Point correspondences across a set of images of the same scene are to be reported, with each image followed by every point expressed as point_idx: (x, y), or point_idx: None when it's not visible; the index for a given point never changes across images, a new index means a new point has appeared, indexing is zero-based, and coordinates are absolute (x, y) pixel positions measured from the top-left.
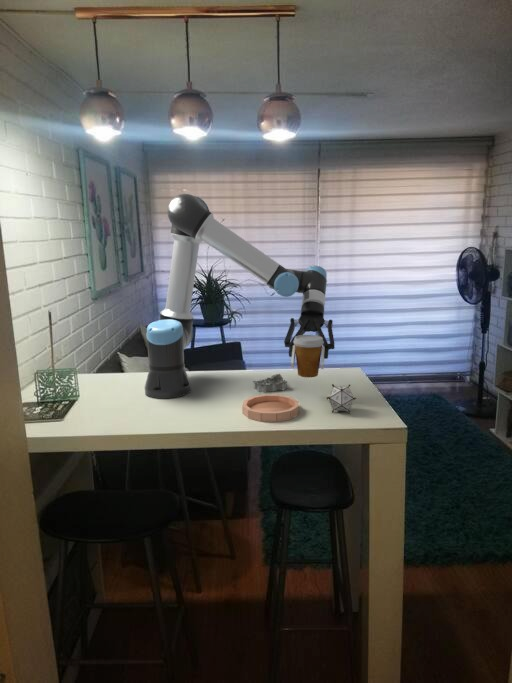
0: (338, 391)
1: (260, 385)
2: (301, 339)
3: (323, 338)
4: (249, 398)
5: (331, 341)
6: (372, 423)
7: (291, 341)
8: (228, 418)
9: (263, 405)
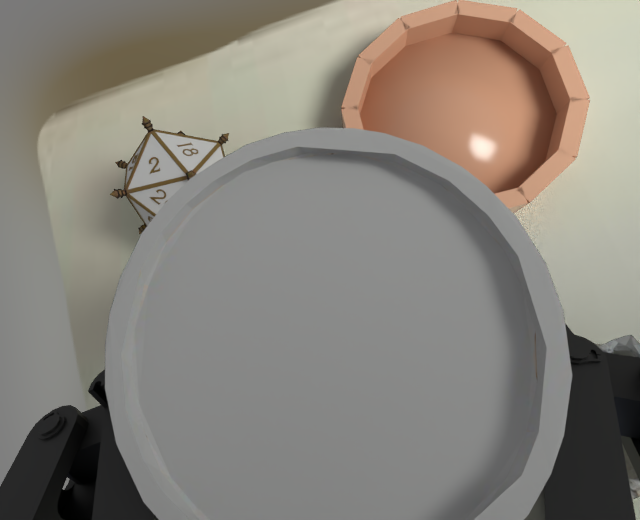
0: (168, 136)
1: (618, 345)
2: (416, 255)
3: (122, 500)
4: (577, 131)
5: (44, 457)
6: (107, 129)
7: (599, 383)
8: (577, 12)
9: (496, 143)
